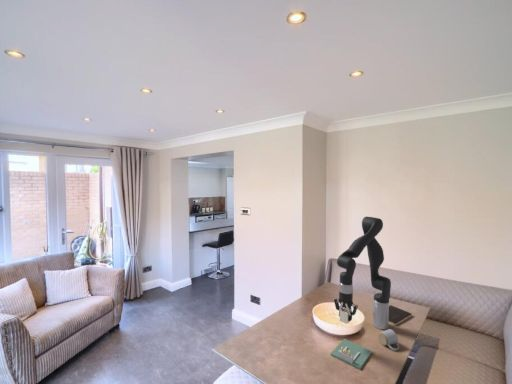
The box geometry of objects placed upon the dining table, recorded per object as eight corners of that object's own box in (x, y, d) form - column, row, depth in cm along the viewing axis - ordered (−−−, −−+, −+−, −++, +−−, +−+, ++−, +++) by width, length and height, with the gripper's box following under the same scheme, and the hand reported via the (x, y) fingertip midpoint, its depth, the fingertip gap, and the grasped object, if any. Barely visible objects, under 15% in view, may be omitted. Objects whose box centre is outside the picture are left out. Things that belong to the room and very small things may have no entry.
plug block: (343, 317, 153) (343, 307, 153) (350, 320, 150) (351, 310, 150) (339, 320, 149) (340, 310, 149) (347, 323, 146) (347, 313, 146)
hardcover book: (412, 316, 183) (412, 313, 183) (395, 326, 170) (395, 323, 170) (389, 307, 196) (390, 304, 196) (372, 316, 183) (372, 313, 183)
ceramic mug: (377, 341, 153) (377, 329, 152) (387, 338, 156) (387, 326, 155) (392, 352, 143) (392, 339, 142) (402, 349, 146) (403, 336, 145)
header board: (344, 340, 153) (344, 329, 153) (372, 352, 143) (372, 341, 142) (330, 355, 140) (330, 343, 140) (359, 369, 129) (360, 357, 129)
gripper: (360, 292, 147) (360, 321, 147) (337, 285, 157) (336, 312, 157) (355, 296, 141) (354, 326, 142) (331, 288, 151) (331, 317, 152)
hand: (345, 319), depth 150 cm, fingers closed on plug block, 4 cm apart
